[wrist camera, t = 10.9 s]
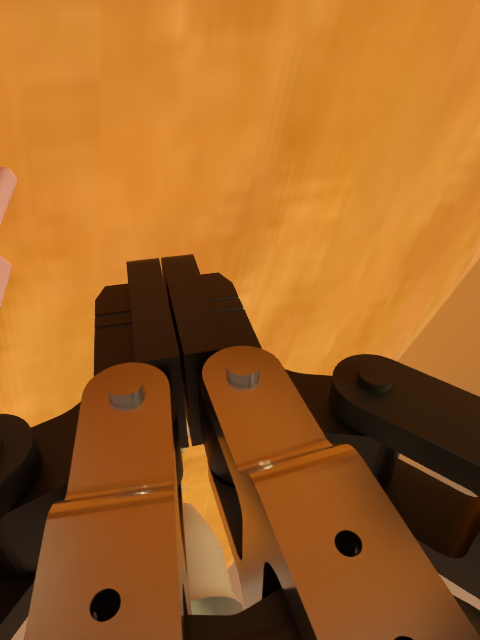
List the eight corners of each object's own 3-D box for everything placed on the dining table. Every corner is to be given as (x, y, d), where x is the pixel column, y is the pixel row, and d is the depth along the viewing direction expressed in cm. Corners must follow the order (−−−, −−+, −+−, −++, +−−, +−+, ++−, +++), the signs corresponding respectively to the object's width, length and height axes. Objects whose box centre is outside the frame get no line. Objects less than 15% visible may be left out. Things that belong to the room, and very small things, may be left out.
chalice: (126, 415, 44) (143, 614, 30) (196, 402, 46) (243, 585, 32) (137, 463, 49) (156, 657, 34) (200, 449, 50) (243, 630, 36)
